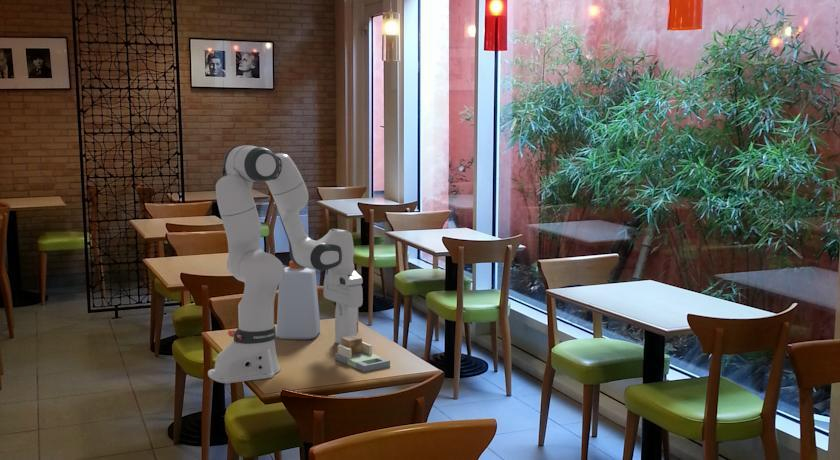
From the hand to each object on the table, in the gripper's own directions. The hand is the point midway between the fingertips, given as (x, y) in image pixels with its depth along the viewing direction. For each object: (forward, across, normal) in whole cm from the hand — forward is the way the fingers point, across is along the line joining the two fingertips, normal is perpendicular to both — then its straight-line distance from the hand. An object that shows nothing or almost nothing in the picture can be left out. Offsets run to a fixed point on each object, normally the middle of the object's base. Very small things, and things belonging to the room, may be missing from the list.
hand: (342, 315), depth 285 cm
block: (+11, +6, -1) cm, 13 cm away
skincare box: (+14, -23, +17) cm, 32 cm away
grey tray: (+13, +13, -1) cm, 19 cm away
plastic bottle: (+14, -31, -1) cm, 34 cm away
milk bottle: (+14, -12, +8) cm, 20 cm away
